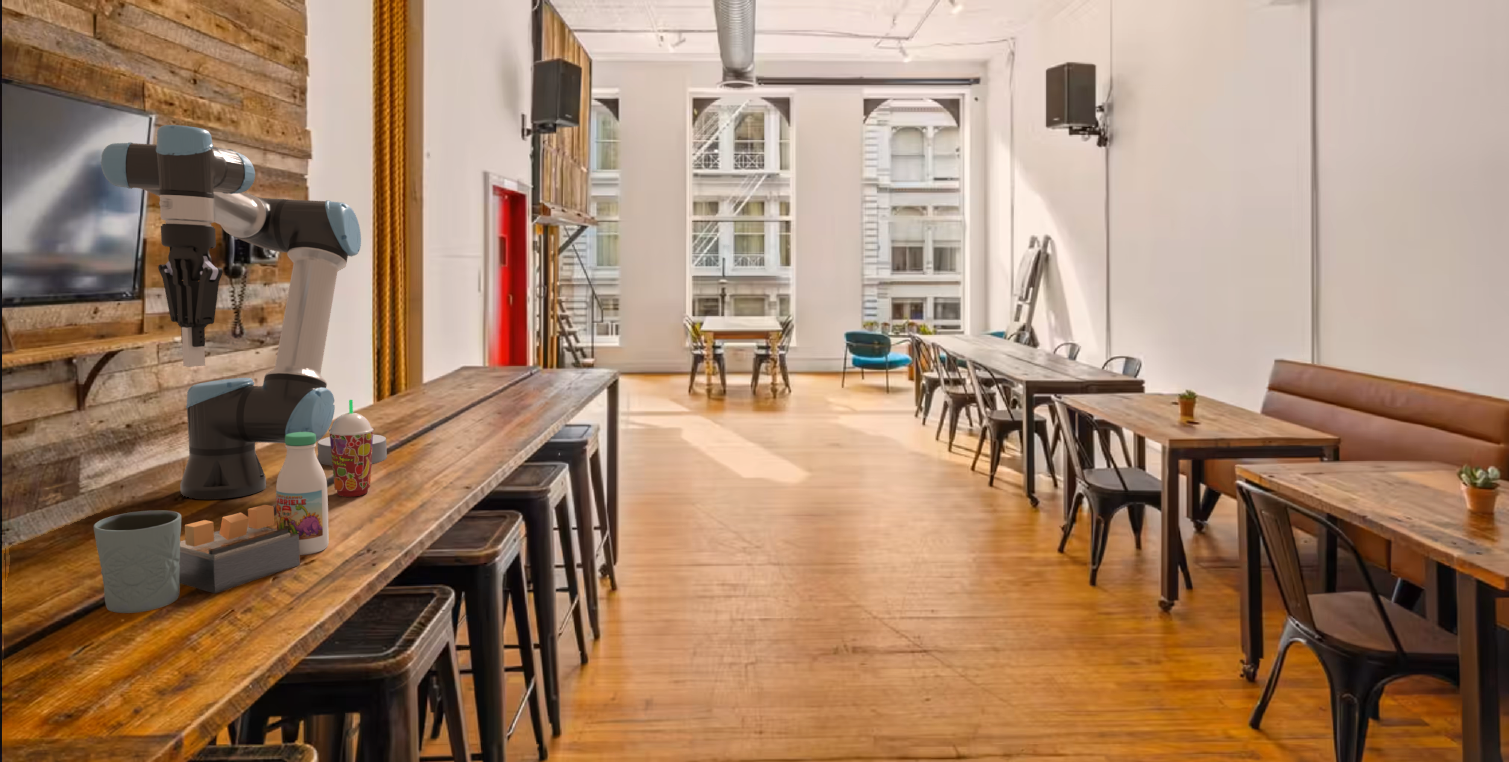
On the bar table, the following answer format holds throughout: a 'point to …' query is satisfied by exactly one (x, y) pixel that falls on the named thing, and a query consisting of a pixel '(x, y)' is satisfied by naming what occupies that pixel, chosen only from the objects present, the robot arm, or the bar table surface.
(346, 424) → the smoothie
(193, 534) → the orange tall rectangular block
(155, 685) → the bar table surface
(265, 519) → the tan wooden block
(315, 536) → the milk bottle
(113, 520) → the gray green pot
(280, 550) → the gray rectangular tray
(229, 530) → the small orange block
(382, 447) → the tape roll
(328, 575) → the bar table surface
